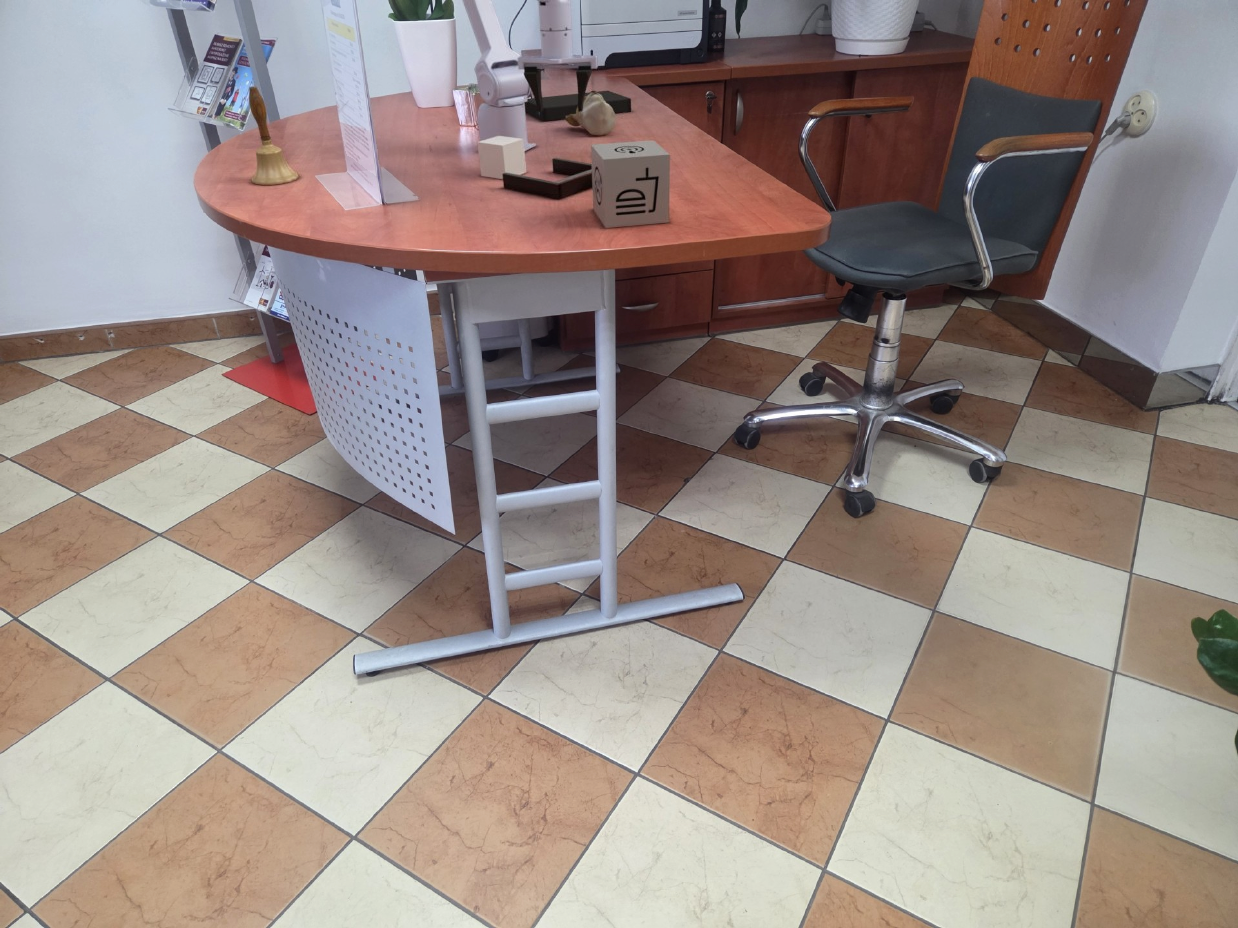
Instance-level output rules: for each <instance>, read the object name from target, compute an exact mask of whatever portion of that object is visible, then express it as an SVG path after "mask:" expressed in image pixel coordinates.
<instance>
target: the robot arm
mask: <svg viewBox="0 0 1238 928" xmlns="http://www.w3.org/2000/svg"><path fill="white" fill-rule="evenodd" d="M536 1H537V3H538V4H537V5H538V17H539V18H538V20H539V34H540V50H541V51H540V52H541V55H527V56H525V55H524V56H521V55H520V54H519V53H518V52H516V51H515V50H513V49H512V48H510V47H509V46H508V44H507V42H506V39H505V36H504V35H505V34H504V33H503V29H502V27H501V24H500V21H499V18H498V15H497V12H496V9H495V7H494V4H493V1H492V0H462V3H463V6H464V8H465V12H466V14H467V17H468V20H469V23H470V25H471V29H472V31H473V34H474V37H475V40H476V43H477V46H478V48H479V51H480V57H479V59H478V60H477V62H476V64H475V66H474V72H475V76H476V80H477V81H476V83H477V89H478V93H479V95H480V97H481V99H482V100H483V101H484V102H482V103H481V104H480V105H479V107H478V109H477V127H478V138H479V141H483V140H486V139H489V138H493V137H496V136H504V137H512V138H520V139H524V151H525V152H526V151H528V150H530V149H532V148H534V147H536V146H537V144H536V143H535V142H529V141H528V140H529V139H528V129H527V116H526V114H527V113H525V103H524V102H527V99H528V97H529V96H530V95H531V93H532V96H533V98H535V101H536V105H537V109H538V112H542V111H543V100H542V97H543V93H542V69H543V70H544V69H545V70H546V69H547V70H548V69H577V70H576V71H575V75H576V85H577V86H576V87H577V94H578V112H582V111H583V103H584V97H585V93H587V87H588V83H589V82H590V78H591V76H592V73H593V69H594V70H595V69H596V70H597V69H598V65H599V64H598V61H599V59H598V55H586V54H585V55H584V54H583V55H582V54H574V48H573V47H574V46H573V27H572V26H573V25H572V8H571V7H572V5H571V4H572V3H571V0H536Z"/></svg>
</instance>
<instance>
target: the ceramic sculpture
mask: <svg viewBox="0 0 1238 928" xmlns="http://www.w3.org/2000/svg"><path fill="white" fill-rule="evenodd" d="M597 92H598V91H597V90H591V91H590V94H589V95H588V96H586V97H584V103H583V111H582V112H578V107H577V110H576V114H570V115H568V116H565V119H564V120H565V122H566V123H567V124H568V125H570V126H572V127H581V128H583V129H584V130H586V131H587V132H588V133H589V134H590V135H592V136H593V135H594V136H598V137H599V136H604V135H607V134H610V133H611V132H612V131H613V129H614V127H615V125H616V120H617V113H614V111H613V109H612V107H610V105H609V104H607V103H606V102H605V101H604V99H603V97H602V96H601V95H600V94H599V93H597Z"/></svg>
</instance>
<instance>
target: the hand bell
mask: <svg viewBox="0 0 1238 928" xmlns="http://www.w3.org/2000/svg"><path fill="white" fill-rule="evenodd" d="M265 103H266V102H265V100H264V98H263V96H262V95H261V93H260V91H259V89H258V87H257V86H254V85H253V86H249V87H248V104H249V107H250V108H249V109H250V112H251V115H252V117H253V119H254V121H255V122H256V125H257V128H258V131H259V136H260V141H261V146H260V147H259V148H257V149H256V150H255V154H256V155H255V156H256V170H255V173H254V175H253V176H252V177H251V182H252V183H253V184H255V185H258V186H259V185H260V186H273V185H274V186H275V185H282V184H287V183H292V182H294V181H297V180H298V179H299V174H298V173H297V172H296V171H295V170H293V169H292V168H291V167H290V166H289V164H288V163H287V160H286V159H285V158H286V157H285V156H284V153H283V150H282V148H281V147H279V146H276V145H274V144H273V142H272V137H271V135H270V131H269V128H268V122H267V121H268V120H267V119H268V117H267V116H268V113H267V107H266V104H265Z"/></svg>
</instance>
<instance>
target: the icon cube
mask: <svg viewBox="0 0 1238 928" xmlns="http://www.w3.org/2000/svg"><path fill="white" fill-rule="evenodd" d="M590 158H591V160H590V161H591V164H592V186H593V187H592V207H593V211H594V213H595V214H596V216H597V217H598V219H599V221H600V222H601V224H602V225H603V227H604V228H605V229H610V228H611V229H612V228H621V227H632V226H644V225H654V224H655V225H656V224H666V223H670V188H671V187H670V183H671V182H670V179H671V178H670V176H671V154H670V153H669V152H668V151H666V149H665V148H663V147H662V145H659V144H658V143H657V142H656V141H655V140H654V139H650V140H639V141H637V140H635V141H623V142H609V143H597V144H590Z"/></svg>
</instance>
